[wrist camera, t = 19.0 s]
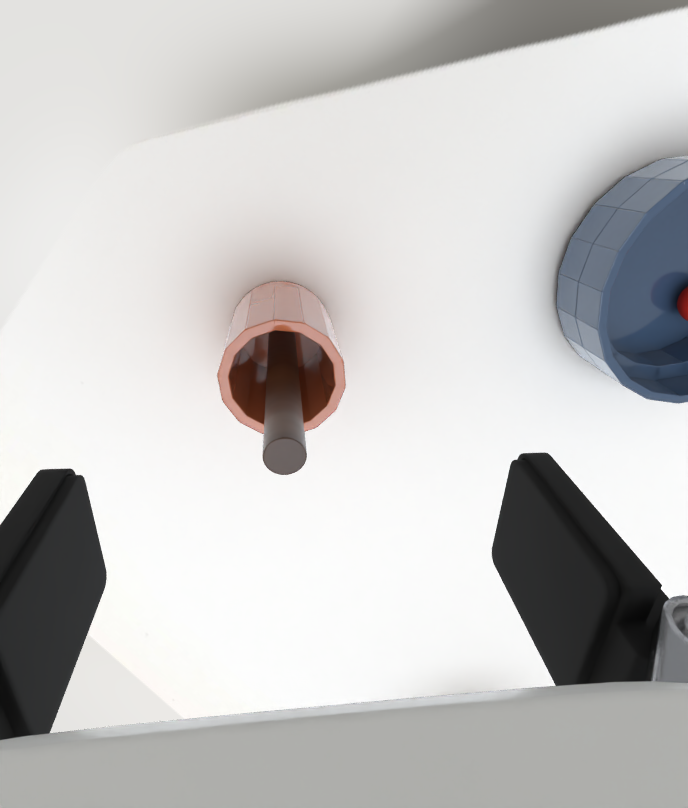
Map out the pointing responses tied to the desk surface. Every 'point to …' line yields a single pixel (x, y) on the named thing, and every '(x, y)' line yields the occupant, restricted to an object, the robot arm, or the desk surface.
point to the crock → (249, 351)
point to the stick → (283, 407)
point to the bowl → (632, 282)
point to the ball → (683, 304)
